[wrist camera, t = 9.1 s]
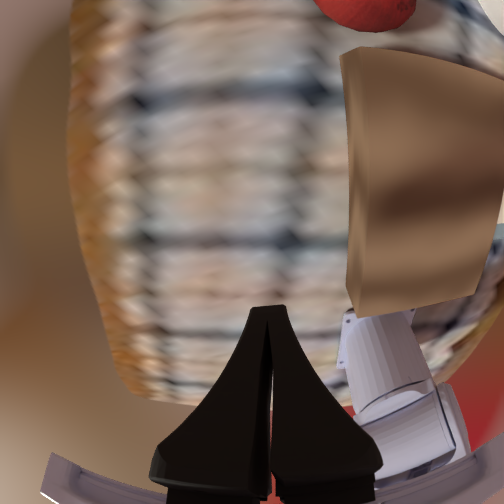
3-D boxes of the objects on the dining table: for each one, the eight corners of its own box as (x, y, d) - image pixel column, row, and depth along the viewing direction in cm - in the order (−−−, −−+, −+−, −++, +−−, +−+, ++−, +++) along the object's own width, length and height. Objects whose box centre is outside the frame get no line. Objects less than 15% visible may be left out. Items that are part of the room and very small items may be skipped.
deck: (454, 268, 21) (473, 294, 18) (345, 285, 22) (357, 318, 19) (474, 78, 12) (508, 82, 8) (339, 56, 13) (360, 46, 10)
